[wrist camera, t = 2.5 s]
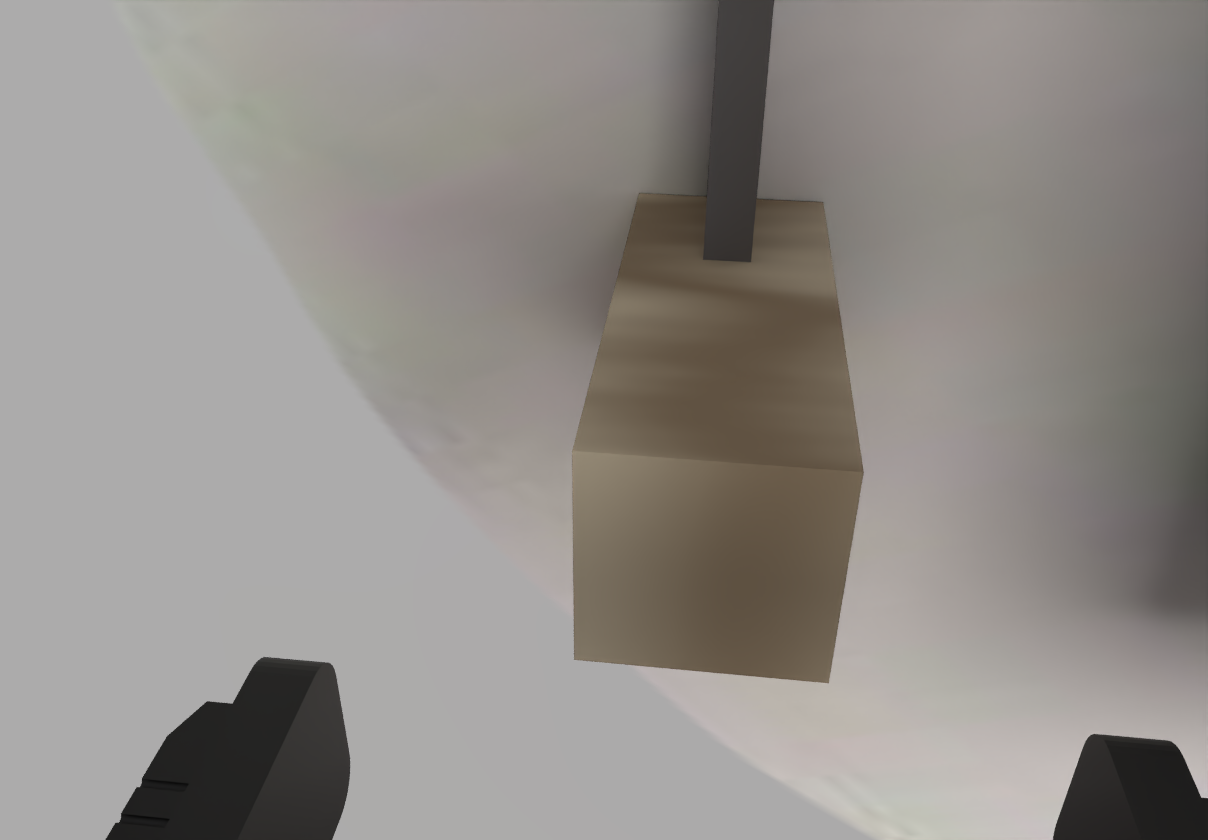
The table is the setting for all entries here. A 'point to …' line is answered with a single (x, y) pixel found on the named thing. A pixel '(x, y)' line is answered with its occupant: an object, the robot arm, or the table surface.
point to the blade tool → (719, 419)
